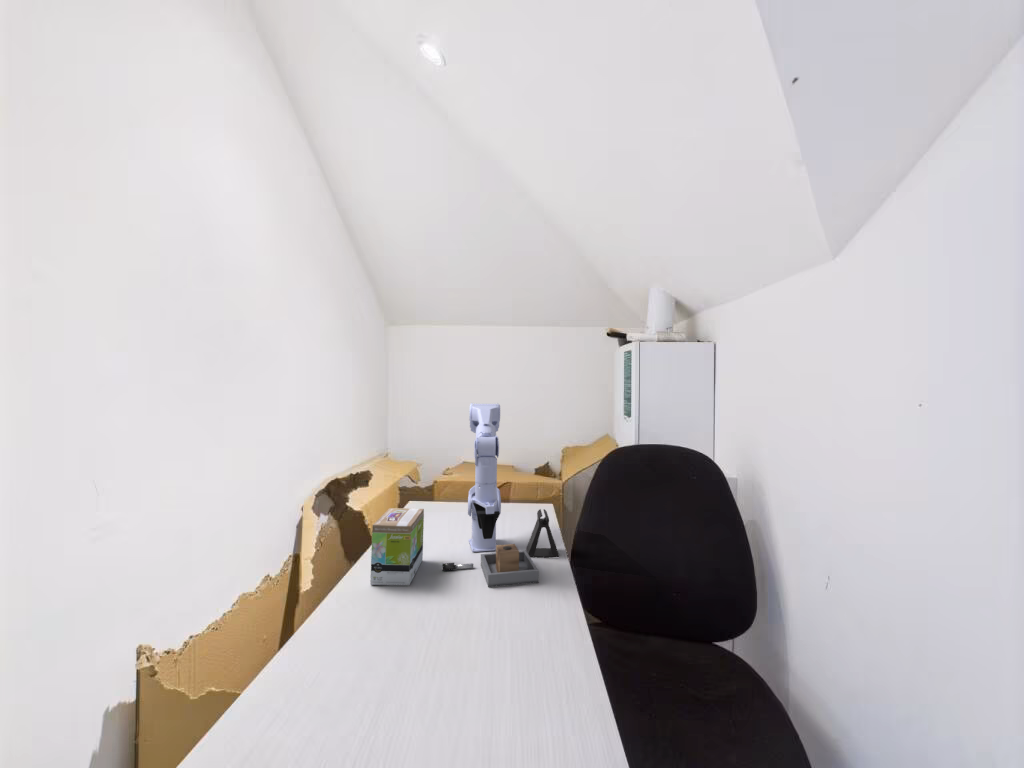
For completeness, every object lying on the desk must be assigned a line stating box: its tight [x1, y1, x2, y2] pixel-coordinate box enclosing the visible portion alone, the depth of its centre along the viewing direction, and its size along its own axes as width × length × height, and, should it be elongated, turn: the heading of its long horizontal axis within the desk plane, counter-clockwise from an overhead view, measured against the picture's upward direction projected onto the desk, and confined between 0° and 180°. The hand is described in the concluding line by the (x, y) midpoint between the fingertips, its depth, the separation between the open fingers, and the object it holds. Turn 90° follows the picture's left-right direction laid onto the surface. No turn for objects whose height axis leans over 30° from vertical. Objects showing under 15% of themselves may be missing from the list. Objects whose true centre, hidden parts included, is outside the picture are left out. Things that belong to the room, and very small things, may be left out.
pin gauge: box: [442, 562, 474, 572], centre depth 111 cm, size 8×2×2 cm, turn 103°
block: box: [495, 543, 520, 573], centre depth 109 cm, size 5×5×6 cm
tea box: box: [369, 507, 425, 586], centre depth 109 cm, size 15×10×15 cm
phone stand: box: [526, 508, 560, 559], centre depth 122 cm, size 9×6×12 cm, turn 90°
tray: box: [480, 550, 540, 588], centre depth 109 cm, size 13×13×3 cm
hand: (485, 533), depth 112 cm, fingers open, 7 cm apart
